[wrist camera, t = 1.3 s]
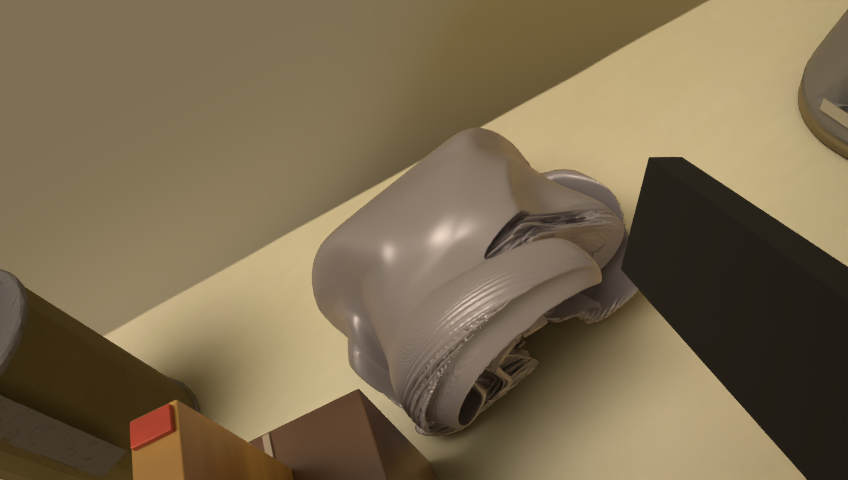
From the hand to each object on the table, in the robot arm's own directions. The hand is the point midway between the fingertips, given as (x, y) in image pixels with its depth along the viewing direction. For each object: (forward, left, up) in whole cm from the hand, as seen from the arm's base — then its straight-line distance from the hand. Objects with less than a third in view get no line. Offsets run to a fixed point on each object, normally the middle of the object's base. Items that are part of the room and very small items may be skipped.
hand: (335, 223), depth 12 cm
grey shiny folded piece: (-12, -7, -31) cm, 34 cm away
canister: (+6, -29, -31) cm, 43 cm away
